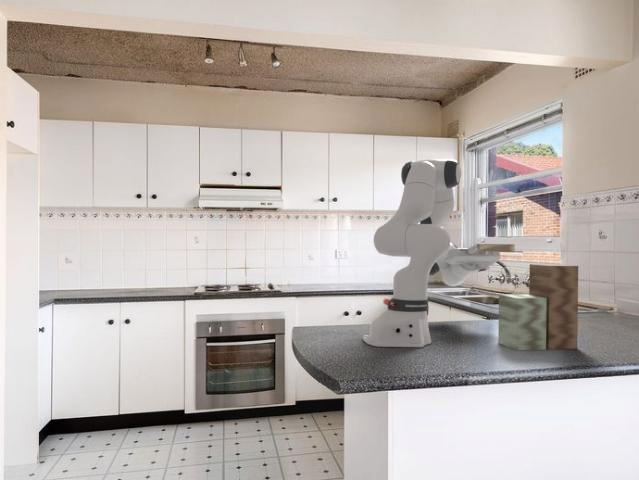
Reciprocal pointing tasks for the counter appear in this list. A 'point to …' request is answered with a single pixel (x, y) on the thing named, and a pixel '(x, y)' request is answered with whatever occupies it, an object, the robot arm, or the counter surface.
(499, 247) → the batten
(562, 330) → the stand
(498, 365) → the counter surface
